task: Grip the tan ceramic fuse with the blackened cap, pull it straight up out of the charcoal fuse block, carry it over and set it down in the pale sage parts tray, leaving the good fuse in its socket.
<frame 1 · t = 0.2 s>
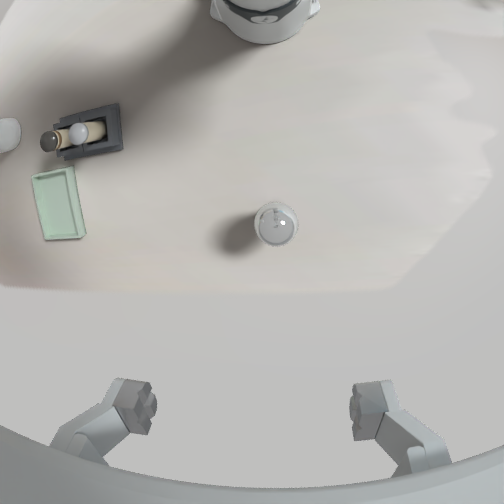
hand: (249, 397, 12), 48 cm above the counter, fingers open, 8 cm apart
good fuse: (102, 129, 52), point 1 cm above the counter, touching fuse block
bottle: (12, 133, 54), on the counter
fuse block: (90, 132, 54), on the counter
parts tray: (60, 202, 60), on the counter
blown fuse: (74, 136, 53), point 1 cm above the counter, touching fuse block
light bulb: (276, 208, 58), on the counter
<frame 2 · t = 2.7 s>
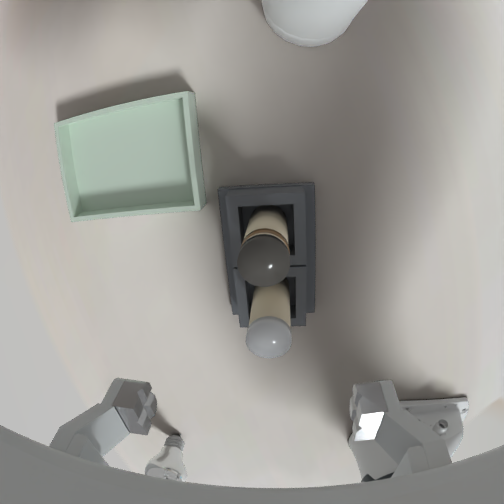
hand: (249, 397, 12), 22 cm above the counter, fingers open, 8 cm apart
good fuse: (272, 286, 33), point 1 cm above the counter, touching fuse block
bottle: (306, 12, 23), on the counter
fuse block: (270, 251, 33), on the counter
parts tray: (130, 157, 30), on the counter
blown fuse: (268, 222, 31), point 1 cm above the counter, touching fuse block
light bulb: (177, 435, 49), on the counter
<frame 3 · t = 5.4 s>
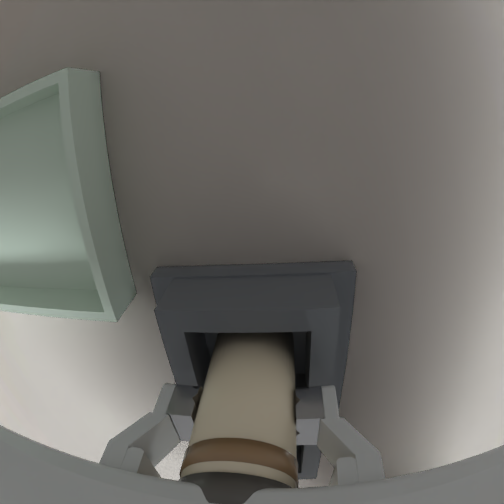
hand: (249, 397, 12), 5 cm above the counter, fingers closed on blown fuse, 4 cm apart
fuse block: (260, 375, 17), on the counter
parts tray: (10, 205, 14), on the counter
blown fuse: (255, 339, 15), point 1 cm above the counter, touching fuse block, gripper
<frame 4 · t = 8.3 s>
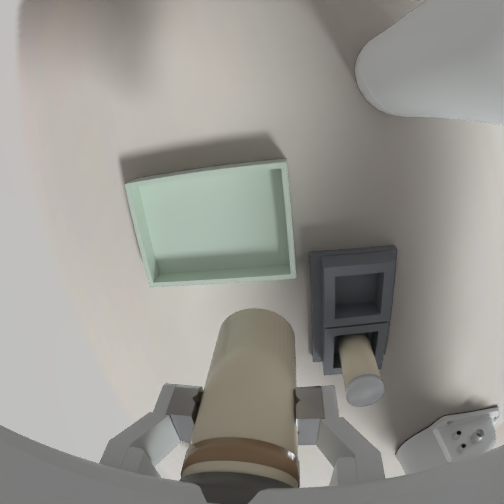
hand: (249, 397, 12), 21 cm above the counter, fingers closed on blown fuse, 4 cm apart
good fuse: (351, 336, 35), point 1 cm above the counter, touching fuse block
bottle: (392, 76, 24), on the counter
fuse block: (351, 306, 34), on the counter
parts tray: (214, 222, 32), on the counter
blown fuse: (256, 339, 15), point 18 cm above the counter, touching gripper
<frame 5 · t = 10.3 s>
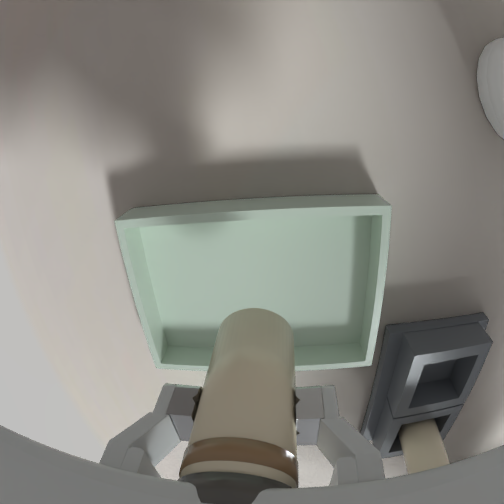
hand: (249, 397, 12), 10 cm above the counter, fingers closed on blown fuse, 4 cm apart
good fuse: (412, 414, 24), point 1 cm above the counter, touching fuse block
fuse block: (419, 382, 24), on the counter
parts tray: (257, 282, 21), on the counter
blown fuse: (255, 339, 15), point 6 cm above the counter, touching gripper
when the fingers open (6 cm above the counter, at t = 11.7 s): blown fuse drops 2 cm, resting on parts tray.
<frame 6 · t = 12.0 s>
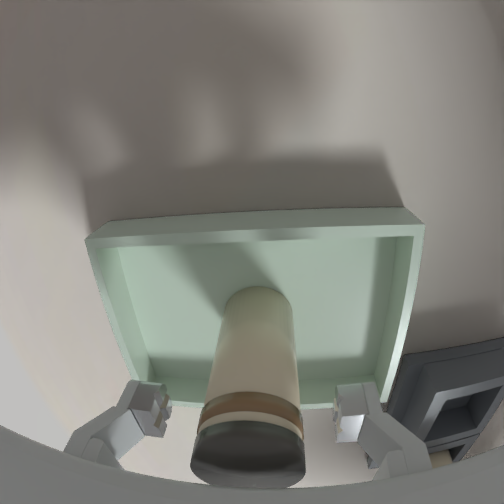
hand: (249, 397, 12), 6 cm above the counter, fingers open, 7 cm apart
good fuse: (424, 442, 21), point 1 cm above the counter, touching fuse block
fuse block: (433, 410, 20), on the counter
parts tray: (258, 310, 17), on the counter
blown fuse: (258, 315, 17), point 1 cm above the counter, touching parts tray
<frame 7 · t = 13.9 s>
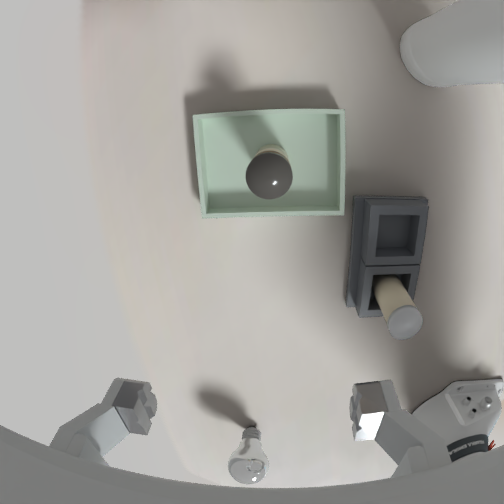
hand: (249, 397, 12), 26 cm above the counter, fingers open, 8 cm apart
good fuse: (384, 281, 37), point 1 cm above the counter, touching fuse block
bottle: (428, 55, 26), on the counter
fuse block: (385, 252, 37), on the counter
parts tray: (271, 160, 33), on the counter
blown fuse: (271, 160, 33), resting on parts tray
light bulb: (252, 427, 53), on the counter
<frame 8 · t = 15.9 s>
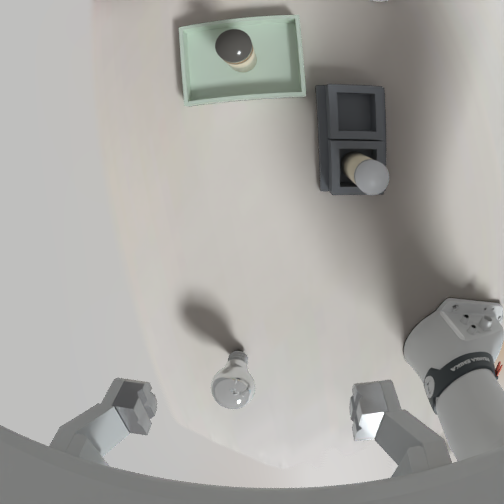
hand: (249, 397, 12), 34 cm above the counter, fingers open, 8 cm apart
good fuse: (354, 164, 39), point 1 cm above the counter, touching fuse block
fuse block: (351, 138, 39), on the counter
parts tray: (242, 60, 36), on the counter
blown fuse: (242, 59, 35), resting on parts tray
light bulb: (239, 352, 55), on the counter
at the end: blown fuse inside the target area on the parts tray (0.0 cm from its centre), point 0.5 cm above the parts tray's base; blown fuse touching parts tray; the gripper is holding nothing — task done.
